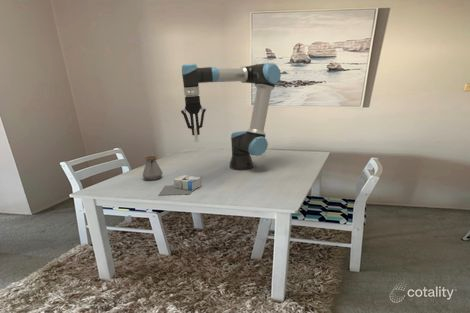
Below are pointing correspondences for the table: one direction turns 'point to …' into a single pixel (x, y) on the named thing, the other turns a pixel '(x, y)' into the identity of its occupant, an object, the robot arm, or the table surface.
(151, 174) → the coffee pot
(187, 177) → the ink box
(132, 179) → the table surface
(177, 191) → the mat
